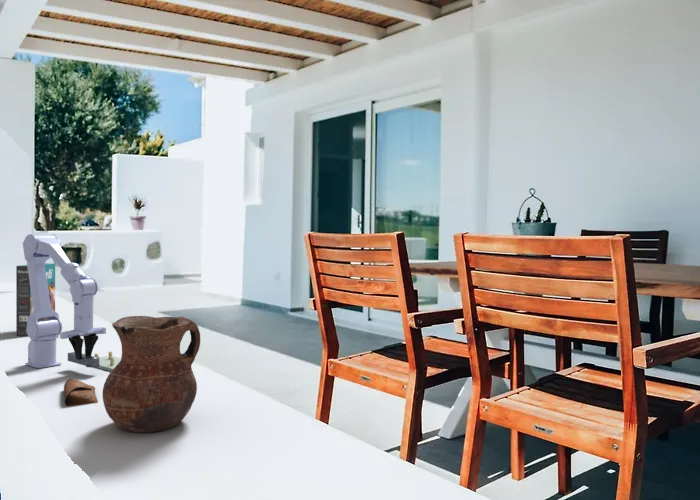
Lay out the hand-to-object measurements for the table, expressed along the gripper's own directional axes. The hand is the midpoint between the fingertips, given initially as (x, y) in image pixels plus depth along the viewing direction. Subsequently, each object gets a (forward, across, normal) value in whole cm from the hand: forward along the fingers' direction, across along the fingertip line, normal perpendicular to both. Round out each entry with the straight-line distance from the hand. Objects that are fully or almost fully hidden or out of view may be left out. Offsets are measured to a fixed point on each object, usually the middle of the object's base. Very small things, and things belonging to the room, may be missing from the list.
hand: (83, 358), depth 202 cm
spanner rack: (+4, +12, +3) cm, 13 cm away
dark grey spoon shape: (+2, 0, 0) cm, 2 cm away
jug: (+4, -18, -63) cm, 65 cm away
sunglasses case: (+5, -16, -27) cm, 32 cm away
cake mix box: (+5, +28, +89) cm, 94 cm away
